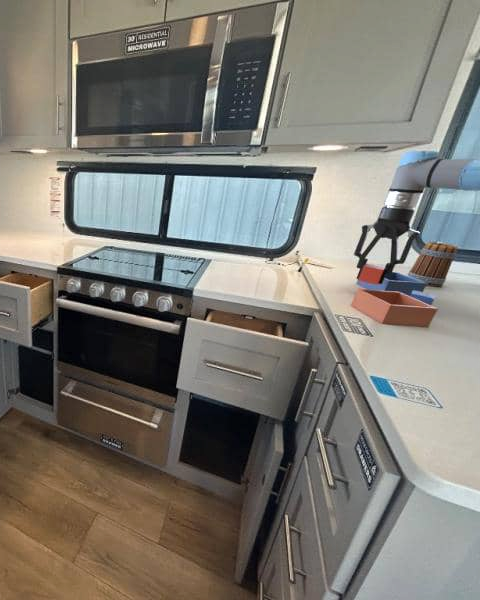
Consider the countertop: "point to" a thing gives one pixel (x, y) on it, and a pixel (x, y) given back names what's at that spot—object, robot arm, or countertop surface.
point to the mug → (433, 263)
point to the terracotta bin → (393, 308)
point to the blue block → (423, 297)
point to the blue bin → (396, 284)
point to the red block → (371, 274)
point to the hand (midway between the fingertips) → (369, 280)
